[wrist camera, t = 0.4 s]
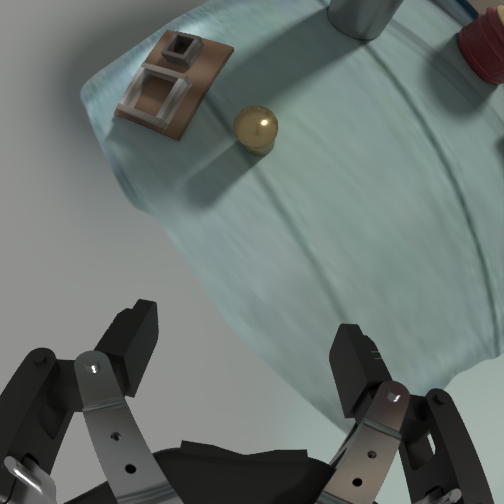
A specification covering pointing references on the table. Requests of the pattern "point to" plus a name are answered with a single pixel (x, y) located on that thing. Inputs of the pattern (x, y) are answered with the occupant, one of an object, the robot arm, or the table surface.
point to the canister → (485, 45)
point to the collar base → (173, 82)
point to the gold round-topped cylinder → (256, 129)
